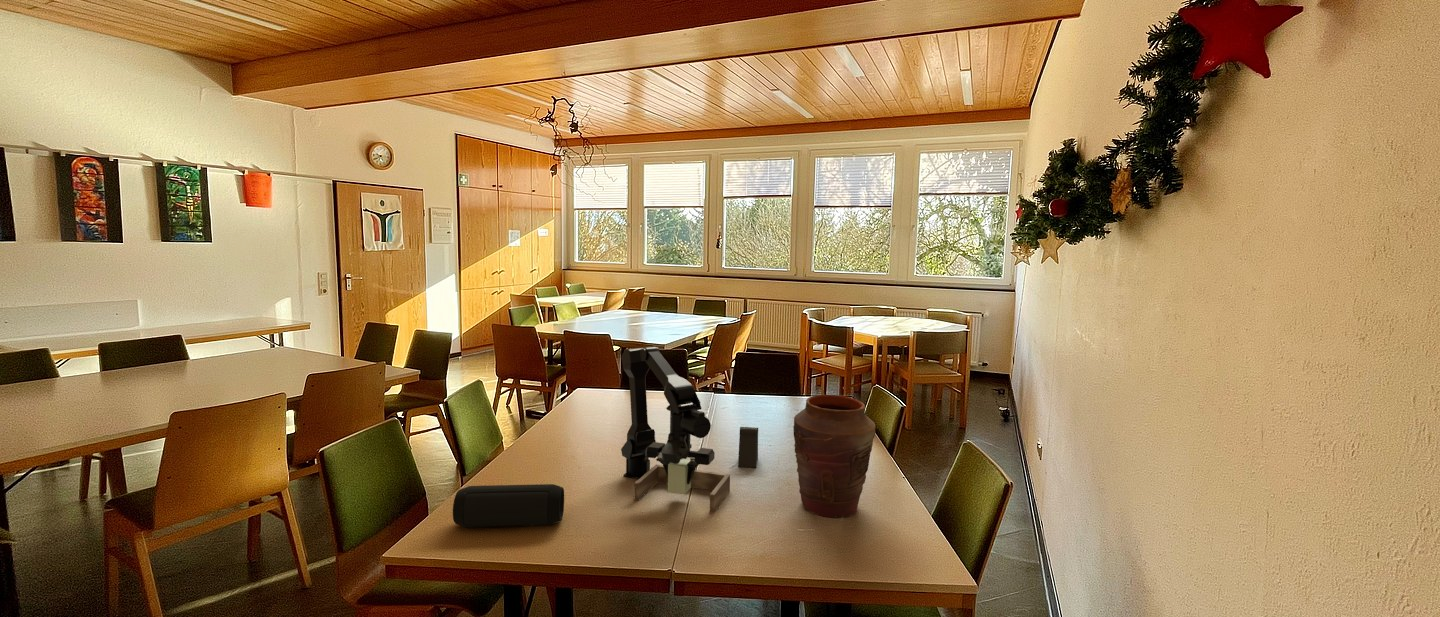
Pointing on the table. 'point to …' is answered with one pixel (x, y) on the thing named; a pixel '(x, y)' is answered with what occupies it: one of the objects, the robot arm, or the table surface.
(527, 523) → the portable speaker
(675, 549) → the table surface
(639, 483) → the wooden u-shaped frame
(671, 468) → the block
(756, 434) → the door stopper
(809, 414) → the vase
